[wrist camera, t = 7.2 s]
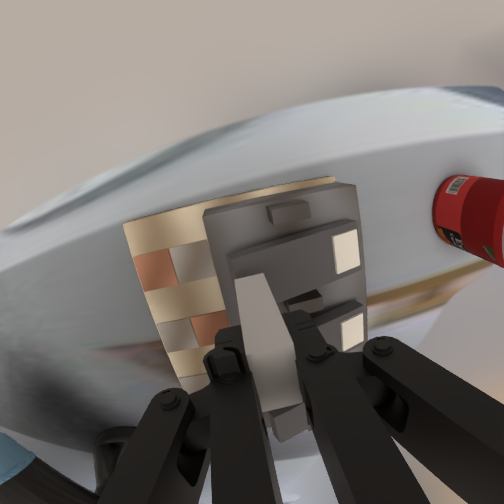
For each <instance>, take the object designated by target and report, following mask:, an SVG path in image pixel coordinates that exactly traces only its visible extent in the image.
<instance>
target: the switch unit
mask: <svg viewBox="0 0 504 504" xmlns="http://www.w3.org/2000/svg"><path fill="white" fill-rule="evenodd" d="M344 219H351V220H357V222H358V231H359V241H360V251H361V263H362V270H360V271H358V272H355V273H353V274H351V275H348V276H346V277H343V278H341V279H339V280H336V281H334V282H331V283H329V284H326V285H324V286H321V287H319V288H316V289H314V290H311V291H309V292H306V293H303V294H301V295H298V296H296V297H293V298H290V299H288V300H285V301H282V302H280V303H277V306H278V309H279V311H280V313H281V314H284V313H288V312H292V311H295V310H299V309H301V310H303V311H305V312H307V313H309V315H310V316H311V318H312V319H313V318H315V317H317V316H320V315H322V314H324V313H327V312H329V311H331V310H333V309H336V308H338V307H340V306H342V305H344V304H347V303H349V302H351V301H353V300H356V301H357V302H359V303H361V304H363V305H364V318H365V343H366V342H368V335H367V298H366V279H365V264H364V252H363V241H362V231H361V222H360V213H359V205H358V198H357V191H356V185H352V184H344V183H337V182H335V178H334V176H327V177H321V178H315V179H310V180H304V181H299V182H294V183H288V184H283V185H278V186H273V187H268V188H263V189H259V190H254V191H249V192H244V193H240V194H235V195H231V196H226V197H222V198H218V199H213V200H209V201H205V202H201V203H197V204H192V205H188V206H184V207H180V208H176V209H172V210H169V211H165V212H161V213H157V214H153V215H150V216H146V217H142V218H139V219H135V220H131V221H128V222H126V223H124V224H123V227H124V231H125V234H126V238H127V241H128V245H129V248H130V251H131V255H132V258H133V261H134V264H135V267H136V271H137V274H138V277H139V280H140V283H141V286H142V289H143V291H144V294H145V297H146V300H147V303H148V305H149V308H150V311H151V314H152V316H153V319H154V322H155V324H156V327H157V329H158V332H159V334H160V337H161V339H162V342H163V344H164V347H165V349H166V352H167V354H168V356H169V359H170V361H171V363H172V366H173V368H174V370H175V373H176V375H177V377H178V379H179V381H180V384H181V386H182V388H183V390H185V391H186V392H187V393H188V394H191V393H194V392H196V391H199V390H201V389H203V388H204V387H206V386H207V385H208V384H209V383H210V379H209V377H208V374H207V371H206V369H205V366H204V364H203V358H204V356H205V355H206V354H207V353H208V352H209V351H210V350H212V349H214V348H215V335H216V334H217V332H218V331H219V329H223V328H227V327H232V326H237V325H241V321H240V315H239V308H238V303H237V299H236V295H235V291H234V287H233V283H232V279H231V275H230V271H229V267H228V263H227V259H226V255H227V254H230V253H234V252H237V251H240V250H244V249H247V248H250V247H253V246H257V245H260V244H263V243H267V242H270V241H273V240H277V239H280V238H283V237H287V236H290V235H293V234H297V233H300V232H303V231H307V230H310V229H314V228H317V227H320V226H324V225H327V224H330V223H334V222H337V221H340V220H344ZM365 343H364V344H362V345H360V346H359V347H357V348H355V349H353V350H351V351H349V352H360V351H363V346H364V345H365ZM347 353H348V352H347ZM262 413H263V417H264V420H265V424H266V428H268V427H271V424H270V420H269V416H268V413H267V411H266V412H262ZM311 430H312V428H311V427H309V428H308V431H311Z"/></svg>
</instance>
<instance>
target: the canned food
mask: <svg viewBox="0 0 504 504" xmlns="http://www.w3.org/2000/svg"><path fill="white" fill-rule="evenodd" d="M433 221H434V225H435V229H436V231H437V233H438V234H439V236H440V237H441V238H442V239H443V240H444V241H445V242H446V243H448V244H450V245H452V246H455V247H457V248H459V249H462V250H464V251H466V252H469V253H471V254H473V255H476V256H478V257H480V258H482V259H485V260H487V261H489V262H491V263H494V264H496V265H498V266H500V267H502V268H504V180H499V179H492V178H484V177H476V176H467V175H456V176H453V177H450V178H448V179H447V180H445V181H444V182H443V183H442V185H441V186H440V188H439V189H438V192H437V194H436V197H435V200H434V206H433Z"/></svg>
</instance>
